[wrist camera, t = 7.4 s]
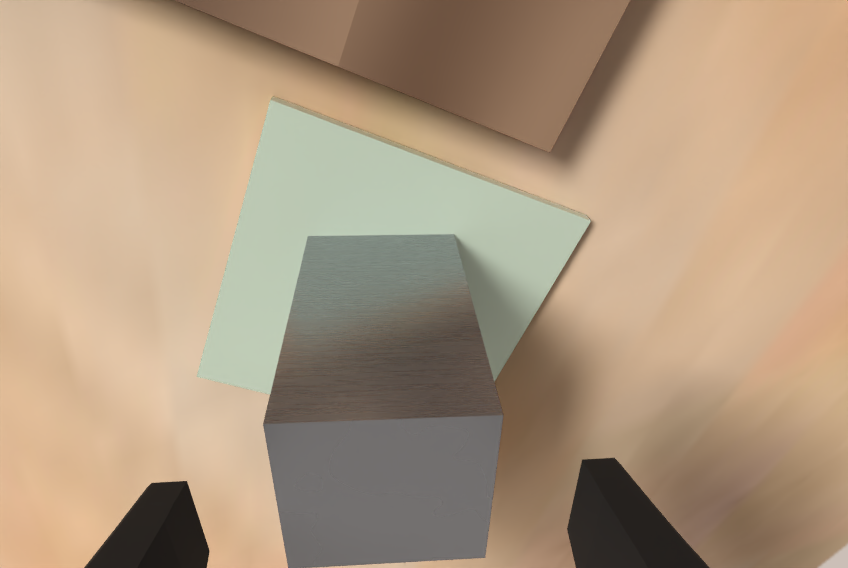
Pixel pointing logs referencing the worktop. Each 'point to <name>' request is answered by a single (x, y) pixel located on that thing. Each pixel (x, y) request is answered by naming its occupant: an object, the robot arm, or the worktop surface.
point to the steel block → (383, 407)
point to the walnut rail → (451, 50)
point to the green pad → (374, 215)
